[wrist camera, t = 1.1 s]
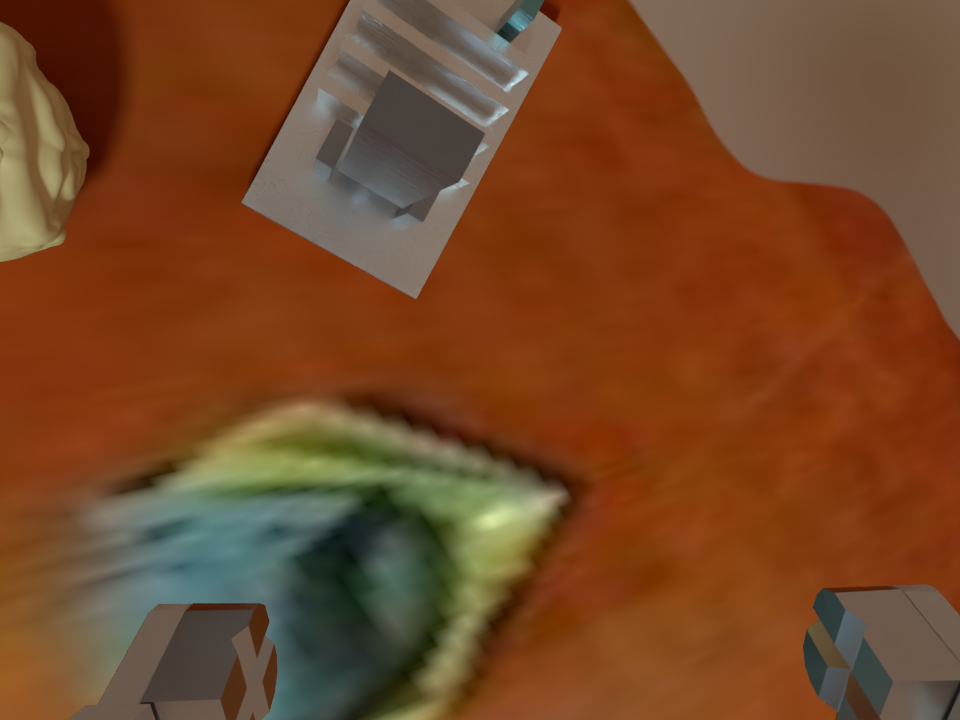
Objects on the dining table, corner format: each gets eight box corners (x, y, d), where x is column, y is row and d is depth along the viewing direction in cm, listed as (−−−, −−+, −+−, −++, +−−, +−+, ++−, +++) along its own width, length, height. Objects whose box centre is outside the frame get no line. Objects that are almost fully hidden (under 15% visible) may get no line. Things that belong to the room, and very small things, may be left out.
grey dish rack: (411, 297, 45) (434, 305, 37) (244, 205, 41) (231, 193, 34) (550, 37, 45) (602, -7, 37) (395, -78, 41) (418, -153, 34)
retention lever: (399, 209, 38) (459, 181, 24) (337, 172, 37) (361, 120, 23) (415, 179, 38) (485, 133, 24) (354, 141, 37) (389, 69, 23)
